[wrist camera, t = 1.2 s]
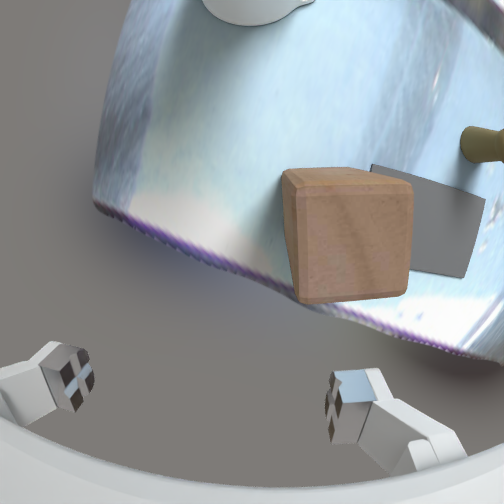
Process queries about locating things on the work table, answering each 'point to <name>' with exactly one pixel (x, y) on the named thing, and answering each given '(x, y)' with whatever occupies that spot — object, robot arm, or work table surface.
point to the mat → (440, 224)
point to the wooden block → (347, 233)
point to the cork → (482, 144)
